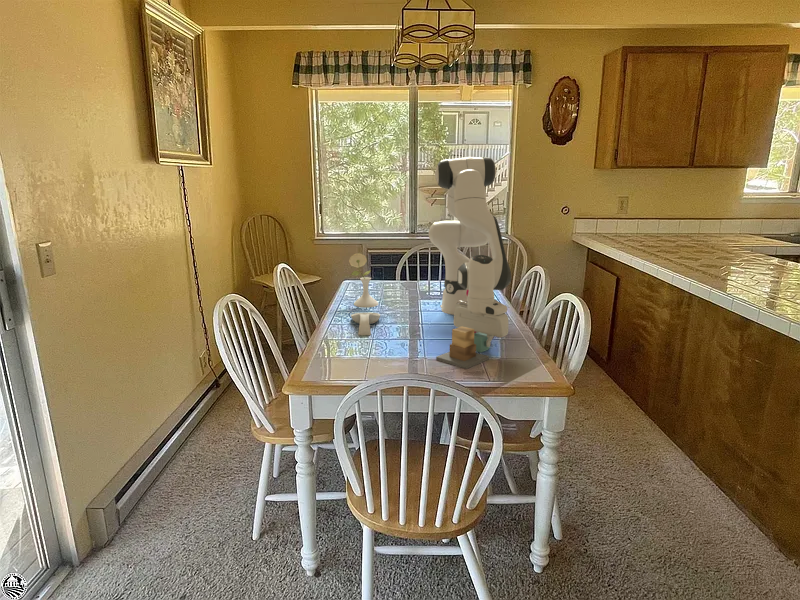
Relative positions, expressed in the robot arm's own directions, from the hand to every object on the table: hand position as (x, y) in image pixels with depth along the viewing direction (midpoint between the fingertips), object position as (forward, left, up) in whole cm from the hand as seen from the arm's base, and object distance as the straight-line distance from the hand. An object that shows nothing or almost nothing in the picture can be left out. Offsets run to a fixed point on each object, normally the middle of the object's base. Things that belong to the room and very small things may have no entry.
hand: (479, 344), depth 171 cm
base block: (+12, +2, -1) cm, 12 cm away
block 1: (+12, +2, +3) cm, 13 cm away
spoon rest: (+9, -47, -2) cm, 48 cm away
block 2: (0, 0, -2) cm, 2 cm away
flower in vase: (-11, -70, -2) cm, 71 cm away
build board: (+12, +2, -2) cm, 12 cm away
